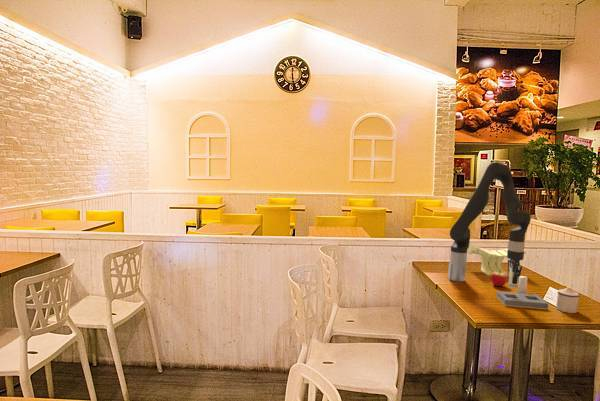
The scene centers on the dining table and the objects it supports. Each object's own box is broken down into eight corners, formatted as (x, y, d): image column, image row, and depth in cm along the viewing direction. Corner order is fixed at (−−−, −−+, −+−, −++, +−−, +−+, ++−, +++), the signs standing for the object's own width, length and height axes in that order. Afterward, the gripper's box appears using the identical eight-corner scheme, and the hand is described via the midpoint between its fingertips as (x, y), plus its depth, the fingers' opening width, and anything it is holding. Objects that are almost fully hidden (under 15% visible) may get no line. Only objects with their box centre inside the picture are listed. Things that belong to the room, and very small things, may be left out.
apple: (508, 286, 242) (509, 269, 241) (503, 289, 236) (505, 271, 235) (493, 282, 248) (494, 266, 247) (488, 285, 242) (489, 268, 241)
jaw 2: (518, 295, 225) (520, 277, 224) (515, 293, 230) (517, 275, 229) (527, 296, 224) (529, 278, 223) (524, 293, 229) (526, 276, 228)
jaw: (509, 288, 212) (511, 269, 211) (506, 285, 217) (508, 267, 216) (519, 289, 211) (520, 270, 210) (515, 286, 216) (517, 267, 215)
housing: (504, 305, 209) (505, 299, 208) (496, 296, 223) (496, 291, 222) (547, 309, 206) (548, 303, 205) (536, 300, 219) (537, 294, 219)
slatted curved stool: (512, 270, 277) (515, 244, 275) (523, 277, 261) (526, 249, 259) (466, 267, 280) (468, 241, 278) (474, 274, 264) (476, 247, 262)
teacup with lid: (581, 314, 201) (584, 290, 200) (562, 313, 201) (564, 289, 200) (567, 305, 213) (569, 283, 212) (548, 304, 213) (551, 282, 212)
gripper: (503, 246, 220) (500, 278, 221) (512, 252, 206) (509, 286, 207) (518, 247, 218) (515, 279, 220) (529, 253, 204) (525, 287, 206)
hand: (512, 282), depth 214 cm, fingers closed on jaw, 4 cm apart
